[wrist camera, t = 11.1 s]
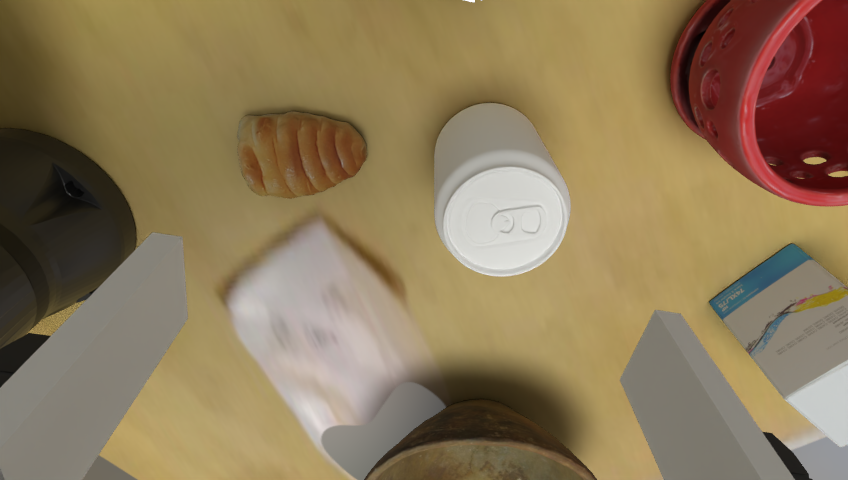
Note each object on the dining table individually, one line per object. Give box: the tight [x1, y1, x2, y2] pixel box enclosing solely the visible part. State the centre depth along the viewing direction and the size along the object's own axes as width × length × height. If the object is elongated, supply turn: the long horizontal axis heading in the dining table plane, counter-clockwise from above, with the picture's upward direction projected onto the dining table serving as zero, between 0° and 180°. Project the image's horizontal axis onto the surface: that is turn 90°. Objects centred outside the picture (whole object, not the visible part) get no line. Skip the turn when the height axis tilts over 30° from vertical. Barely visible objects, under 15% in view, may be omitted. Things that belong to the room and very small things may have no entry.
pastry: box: [237, 111, 367, 198], centre depth 38 cm, size 9×7×4 cm
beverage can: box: [434, 103, 571, 276], centre depth 34 cm, size 8×8×12 cm
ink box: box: [709, 244, 848, 447], centre depth 41 cm, size 8×8×12 cm
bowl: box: [364, 399, 597, 480], centre depth 51 cm, size 22×23×10 cm
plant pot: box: [670, 0, 848, 206], centre depth 30 cm, size 13×13×12 cm
